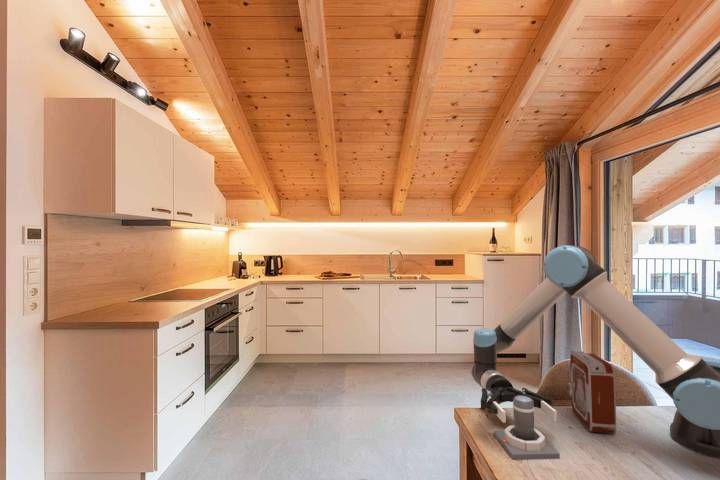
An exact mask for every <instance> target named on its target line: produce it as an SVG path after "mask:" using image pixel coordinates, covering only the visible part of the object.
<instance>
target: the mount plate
mask: <svg viewBox="0 0 720 480" xmlns="http://www.w3.org/2000/svg"><path fill="white" fill-rule="evenodd" d="M534 432H535V441H524V440H522V439H519V438H516V437H514V424H513V425H508V427H506V428H504V429H503V430H493V436H494V437H495V439H496V440H497V441H498V442H499V444H500V445H501V446H502V447H503V449H504V450H505V452H506V453H507V454H508V455H509V457H510V458H511V460H542V459H543V460H544V459H546V460H547V459H550V460H551V459H552V460H553V459H555V460H556V459H560V457H561V455H560V452H559V451H558V450H556V448H555V447H554V446H553V445H551V444H550V443H549V441H547V440H546V436H545V435H544V434H543V433H542V432H541V431H540V430H539V429H536V428H534Z"/></svg>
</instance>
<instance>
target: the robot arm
mask: <svg viewBox="0 0 720 480" xmlns="http://www.w3.org/2000/svg"><path fill="white" fill-rule="evenodd" d="M542 269H543V272H544V274H545V276H546V277H545V279H544V280H543V281H542V282H541V283H540V284H538V286H536V288H535V289H534V290H533V291H531V293H529V294H528V296H527V297H526V298H525V299H524V300H522V302H521V303H520V304H518V306H516V307H515V308H514V309H513V310H512V312H511V313H510V314H509V315H507V316H506V317H505V318H504V319H503V320H502V321H501V322H500V324H498V326H496V327H495V328H494V329H490V328H477V329H475V330H474V331H473V340H472V342H473V364H472V365H471V367H470V374H471V377H472V378H473V380H474V381H475V383H476V384H477V385H479V386H480V387H481V398H480V410H482V411H483V410H484V411H485V410H486V409H487V413H488V414H491V415H492V414H493V415H496V417H498V419H499V420H500V421H501V422H502V423H506V421H507V419H506V418H507V417H506V416H507V415H506V414H507V413H506V410H505V409H503V408H502V407H501V406H500V405H501V404H503V403H506V402H510V403H513V398H514V397H515V396H526V397H529V398H531V399H532V400H533V401H534V408H537V409H540V411H541V412H542V413H543V414H545V416H547V417H548V418H549V419H550V420H551V421H553V423H554V422H558V415H557V414H558V410H556V409H555V408H554V407H553V406H552V402H553V401H552V399H551V398H549V397H546V396H544V395H542V394H540V393H536V392H534V391H532V390H529V389H527V388H526V387H522V388H521V390H519V389H518V388H514V386H513V385H512V382H510V380H508V379H507V377H504V375H502V374H501V373H500V372H499V371H498V364H497V363H498V359H497V358H498V355H497V354H499V353H501V352H502V351H505V350H508V349H509V348H510V347H512V345H513V344H514V342H515V341H516V340H518V338H520V337H521V336H522V335H523V334H524V333H525V332H526V331H527V330H528V329H529V328H530V327H531V326H533V324H534V323H536V322H537V321H538V320H539V319H540V318H541V317H542V316H543V315H545V313H546V312H548V311H549V309H551V308H552V307H553V306H554V305H555V304H556V303H557V302H558V301H559V300H561V298H563V297H564V296H565V295H566V294H567V295H569V296H570V298H572V299H579V300H582V301H583V302H584V303H585V305H587V306H588V307H589V309H590V310H592V312H594V313H595V314H596V316H597V317H599V319H601V320H602V321H603V323H605V324H606V326H607V327H608V328H610V329H611V330H612V331H613V332H614V334H616V335H617V336H618V337H619V338H620V339H621V340H622V341H623V342H624V343H625V345H627V346H628V347H629V348H630V350H632V352H634V354H636V356H638V358H640V359H641V361H643V362H644V363H645V365H647V366H648V368H650V369H651V371H653V372H654V374H655V383H656V384H657V385H658V386H659V387H660V388H661V389H662V390H663V392H665V393H666V395H668V396H669V397H670V398H671V400H672V401H673V405H674V406H675V408H676V410H675V413H674V416H673V420H672V422H671V423H670V426H669V435H670V438H671V439H672V440H673V441H675V442H676V443H677V444H679V445H680V446H681V447H685V448H687V449H689V450H691V451H694V452H696V453H699V454H703V455H705V456H709V457H713V458H718V459H720V358H714V357H710V356H702V355H694V354H689V353H686V351H684V349H682V348H681V347H680V346H679V345H678V344H677V343H676V342H675V341H674V340H672V338H671V337H669V336H668V335H667V334H666V333H665V332H664V331H663V330H662V329H660V327H658V326H657V325H656V324H655V323H654V322H653V321H652V320H651V319H650V318H648V316H647V315H645V314H644V313H643V312H642V310H640V309H639V308H638V307H637V306H636V305H634V304H633V302H631V300H629V299H628V298H627V297H626V296H625V295H623V293H622V292H621V291H620V290H618V288H616V287H615V286H614V285H613V284H612V283H611V282H610V281H608V271H606V270H605V269H604V268H603V267H602V266H601V265H600V264H599V263H598V261H597V258H596V256H595V254H594V253H592V251H591V250H589V249H588V248H587V247H586V248H585V247H582V246H581V245H569V244H568V245H567V244H566V245H565V244H564V245H559V246H558V247H555V248H553V249H552V250H551V251H549V252H548V253H547V254H546V255H545V257H544V261H543V268H542Z"/></svg>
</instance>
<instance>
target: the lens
mask: <svg viewBox="0 0 720 480" xmlns="http://www.w3.org/2000/svg"><path fill="white" fill-rule="evenodd" d="M512 408H513V425H514V437H516V438H519V439H522V440H524V441H535V432H534V429H535V407H534V401H533V400H532V399H531V398H529V397H526V396H515V397H514V398H513V402H512Z"/></svg>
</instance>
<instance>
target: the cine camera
mask: <svg viewBox="0 0 720 480" xmlns="http://www.w3.org/2000/svg"><path fill="white" fill-rule="evenodd" d="M569 357H570V358H569V359H570V360H569V361H570V362H569V363H570V364H569V365H570V373H569V380H570V382H567V384H568V387H569V392H568V395H569V396H570V397H571V409H572V410H571V411H572V413H573V415H574V416H575V417H576V418H577V419H578V420H579V421H580V423H582V425H583V426H584V427H585V428H586V430H587V431H589V432H591V433H602V434H616V432H617V405H616V404H617V397H616V378H615V375H616V374H615V368H614V366H613V364H612V363H609V362H608V361H606V360H605V359H603V358H602V357H600V356H598V355H596V354H594V353H587V352H584V351H582V350H571V351H570V356H569Z"/></svg>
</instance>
